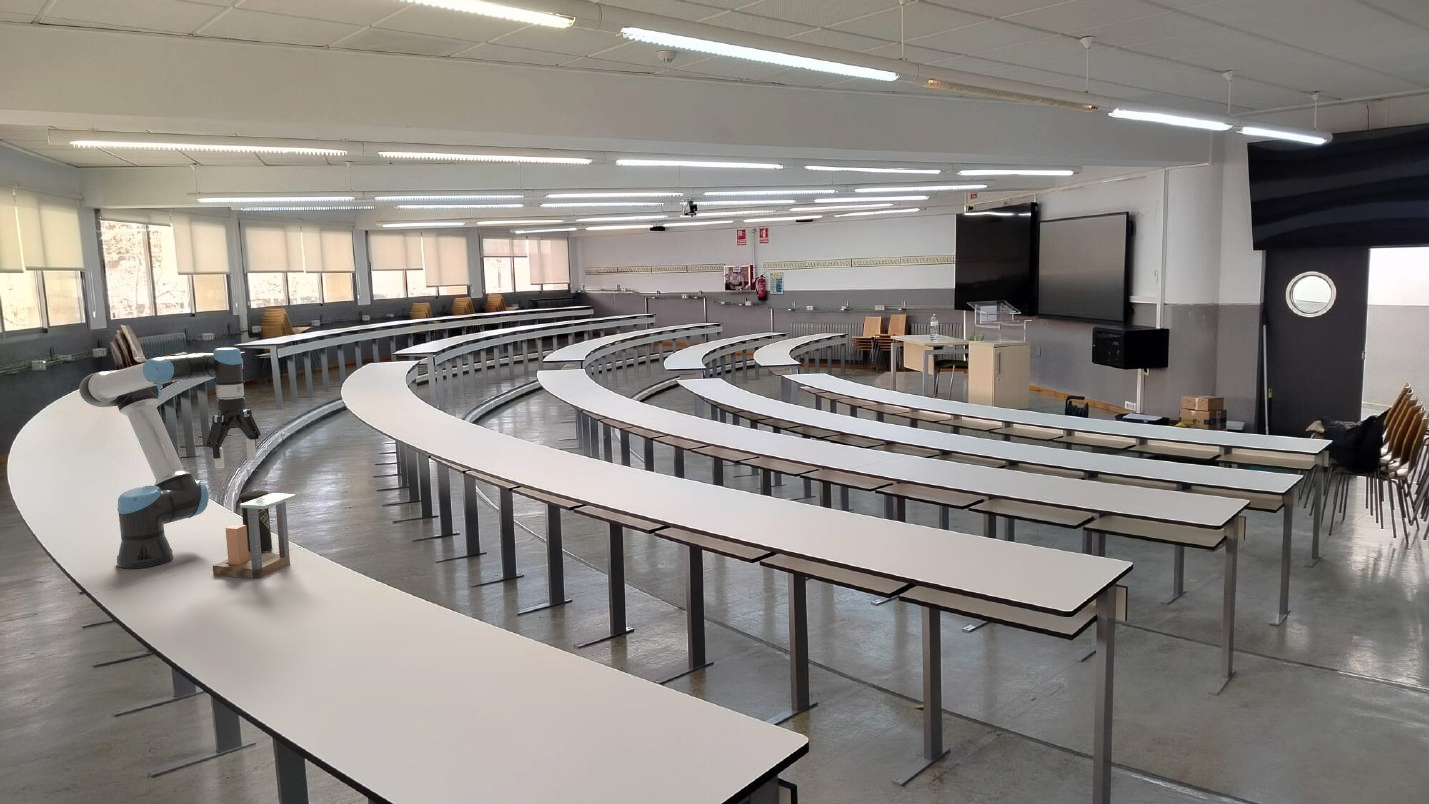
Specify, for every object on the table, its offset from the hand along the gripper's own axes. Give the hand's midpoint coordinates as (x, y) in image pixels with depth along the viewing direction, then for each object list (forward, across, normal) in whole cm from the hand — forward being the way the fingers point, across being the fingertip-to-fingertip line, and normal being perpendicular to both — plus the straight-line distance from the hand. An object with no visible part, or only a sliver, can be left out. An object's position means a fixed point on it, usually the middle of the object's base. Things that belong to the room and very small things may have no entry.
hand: (236, 463), depth 280 cm
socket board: (+32, -7, -9) cm, 34 cm away
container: (+32, +10, +3) cm, 34 cm away
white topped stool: (+32, -7, -17) cm, 37 cm away
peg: (+31, -9, -6) cm, 33 cm away
